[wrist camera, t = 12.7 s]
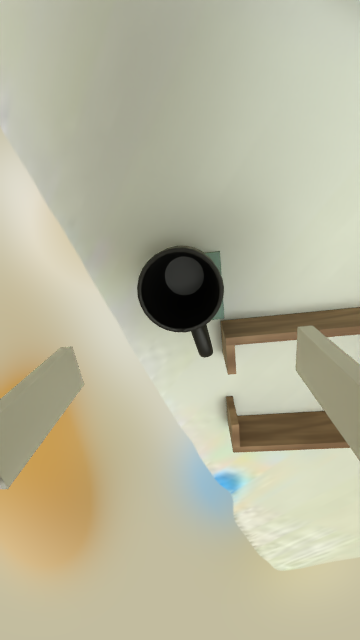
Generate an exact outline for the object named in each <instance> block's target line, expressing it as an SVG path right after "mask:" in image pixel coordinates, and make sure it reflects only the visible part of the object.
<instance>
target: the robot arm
mask: <svg viewBox="0 0 360 640" xmlns="http://www.w3.org/2000/svg"><path fill="white" fill-rule="evenodd" d="M296 371H297V373H298V374H299V375H300V377H301V378H302V380H303V381H304V383H305V384H306V385H307V387H308V388H309V390H310V391H311V392H312V394H313V395H314V397H315V398H316V400H317V401H318V402H319V404H320V405H321V407H322V408H323V410H324V411H325V412H326V414H327V415H328V417H329V418H330V419H331V421H332V422H333V424H334V425H335V427H336V428H337V429H338V431H339V432H340V434H341V435H342V436H343V438H344V439H345V441H346V442H347V444H348V445H349V446H350V448H351V449H352V451H353V452H354V453H355V455H356V456H357V458H358V459H359V461H360V364H358V363H357V362H356V361H355V360H354V359H352V358H351V357H350V356H349V355H348V354H346V353H345V352H344V351H343V350H341V349H340V348H339V347H338V346H337V345H335V344H334V343H333V342H332V341H331V340H329V339H328V338H327V337H326V336H324V335H323V334H322V333H321V332H320V331H318V330H317V329H316V328H315V327H314V326H301V327H298V331H297V352H296ZM83 386H84V382H83V379H82V376H81V373H80V369H79V366H78V363H77V360H76V357H75V354H74V350H73V347H62V348H60V349H58V350H57V351H56V352H55V353H54V354H53V355H51V356H50V357H49V358H48V359H47V360H46V361H44V362H43V363H42V364H41V365H40V366H38V367H37V368H36V369H35V370H34V371H33V372H31V373H30V374H29V375H28V376H27V377H26V378H24V379H23V380H22V381H21V382H20V383H19V384H17V386H15V387H14V388H13V389H12V390H11V391H9V392H8V393H7V394H6V395H5V396H3V397H2V398H1V399H0V489H8V488H9V487H10V485H11V484H12V482H13V481H14V480H15V478H16V477H17V476H18V474H19V473H20V472H21V470H22V469H23V468H24V466H25V465H26V463H27V462H28V461H29V459H30V458H31V457H32V455H33V454H34V452H35V451H36V450H37V448H38V447H39V446H40V444H41V443H42V442H43V440H44V439H45V438H46V436H47V435H48V433H49V432H50V431H51V429H52V428H53V427H54V425H55V424H56V422H57V421H58V420H59V418H60V417H61V416H62V414H63V413H64V412H65V410H66V409H67V407H68V406H69V405H70V403H71V402H72V401H73V399H74V398H75V397H76V395H77V394H78V392H79V391H80V390H81V388H82V387H83Z"/></svg>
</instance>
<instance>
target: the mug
mask: <svg viewBox="0 0 360 640" xmlns="http://www.w3.org/2000/svg"><path fill="white" fill-rule="evenodd" d="M137 290H138V299H139V302H140V305H141V307H142V309H143V311H144V313H145V314H146V315H147V316H148V318H149V319H150V320H151V321H152V322H154V323H155V324H156V325H158V326H159V327H161V328H164V329H166V330H169V331H173V332H189V331H191V332H192V335H193V338H194V341H195V344H196V347H197V349H198V352H199V354H200V356H201V357H209V356H211V355H212V354H213V349H212V344H211V340H210V336H209V333H208V329H207V325H206V324H207V323H208V322H210V321H211V320H212V319H213V317H214V316H215V315H216V314H217V312H218V310H219V308H220V307H221V303H222V300H223V294H224V286H223V280H222V277H221V274H220V272H219V270H218V268H217V266H216V265H215V264H214V262H213V261H212V260H211V258H210V257H208V256H207V255H206V254H205V253H204V252H202V251H200V250H198V249H196V248H193V247H189V246H175V247H171V248H167V249H165V250H163V251H161V252H159V253H157V254H156V255H154V256H153V257H152V258H151V259H150V260H149V261H148V262H147V263H146V265H145V266H144V267H143V269H142V271H141V274H140V276H139V280H138V286H137Z"/></svg>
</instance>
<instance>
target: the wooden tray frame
mask: <svg viewBox="0 0 360 640" xmlns="http://www.w3.org/2000/svg"><path fill="white" fill-rule="evenodd" d="M301 326H314V327H315V328H316V329H317V330H318V331H320V332H321V333H322V334H323V335H324V336H326V337H334V336H345V335H357V334H360V307H357V308H347V309H337V310H326V311H316V312H306V313H295V314H285V315H275V316H264V317H254V318H244V319H233V320H223V321H221V334H222V348H223V355H224V359H225V364H226V368H227V372H228V374H236V362H235V345H241V344H252V343H264V342H276V341H287V340H297V331H298V327H301ZM226 402H227V416H228V425H229V431H230V436H231V442H232V448H233V452H257V451H281V450H305V449H329V448H350V446H349V445H348V444H347V442H346V441H345V439H344V438H343V436H342V435H341V434H340V432H339V431H338V429H337V428H336V427H335V425H334V424H333V422H332V421H331V419H330V418H329V417H328V415H327V414H326V412H325V411H318V412H301V413H283V414H265V415H248V416H237V414H236V410H235V405H234V401H233V397H232V396H228V397H226Z"/></svg>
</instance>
